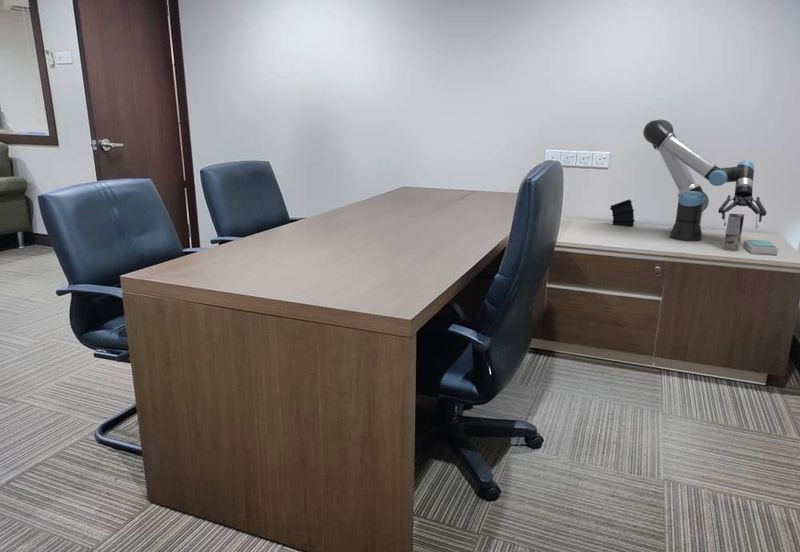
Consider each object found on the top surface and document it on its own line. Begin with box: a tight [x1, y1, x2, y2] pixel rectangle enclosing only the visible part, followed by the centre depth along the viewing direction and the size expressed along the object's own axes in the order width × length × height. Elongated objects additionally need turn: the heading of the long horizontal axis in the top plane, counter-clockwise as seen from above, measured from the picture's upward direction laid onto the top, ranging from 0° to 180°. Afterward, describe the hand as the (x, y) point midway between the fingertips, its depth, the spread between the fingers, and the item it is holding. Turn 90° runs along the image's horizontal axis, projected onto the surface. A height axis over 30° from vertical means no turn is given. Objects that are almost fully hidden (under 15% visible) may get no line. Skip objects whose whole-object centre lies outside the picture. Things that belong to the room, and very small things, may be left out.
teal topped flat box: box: [742, 239, 779, 256], centre depth 280 cm, size 11×14×4 cm
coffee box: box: [723, 213, 745, 251], centre depth 284 cm, size 9×6×16 cm
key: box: [747, 239, 777, 248], centre depth 280 cm, size 9×12×2 cm
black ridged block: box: [610, 198, 635, 228], centre depth 336 cm, size 4×13×15 cm, turn 56°
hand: (740, 225), depth 285 cm, fingers open, 13 cm apart
